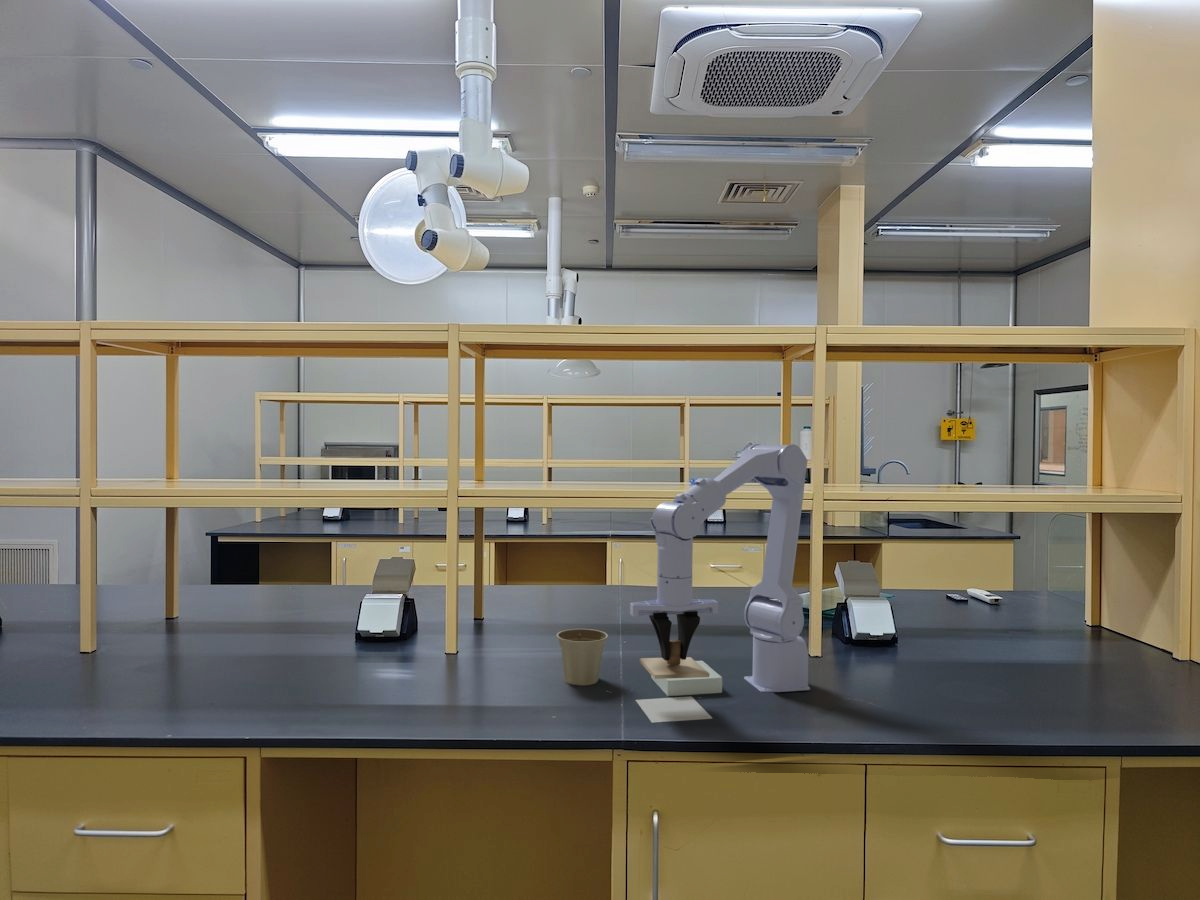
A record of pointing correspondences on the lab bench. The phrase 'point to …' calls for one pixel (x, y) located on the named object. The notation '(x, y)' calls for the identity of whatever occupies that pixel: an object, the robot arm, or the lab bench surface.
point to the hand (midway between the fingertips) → (673, 658)
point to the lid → (673, 665)
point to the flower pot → (581, 655)
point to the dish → (692, 683)
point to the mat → (672, 709)
